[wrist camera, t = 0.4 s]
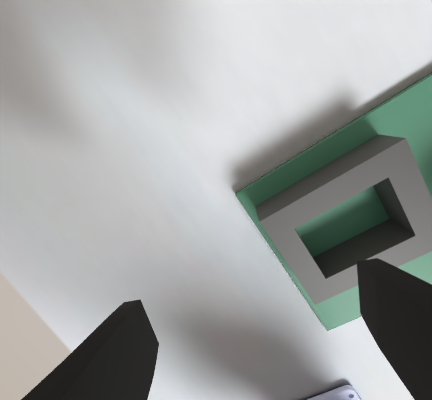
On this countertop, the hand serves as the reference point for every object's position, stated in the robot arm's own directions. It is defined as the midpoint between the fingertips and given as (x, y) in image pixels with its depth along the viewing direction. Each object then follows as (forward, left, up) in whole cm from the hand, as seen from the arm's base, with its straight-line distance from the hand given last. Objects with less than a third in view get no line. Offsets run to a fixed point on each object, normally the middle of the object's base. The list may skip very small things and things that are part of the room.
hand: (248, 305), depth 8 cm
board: (-6, -8, -10) cm, 14 cm away
